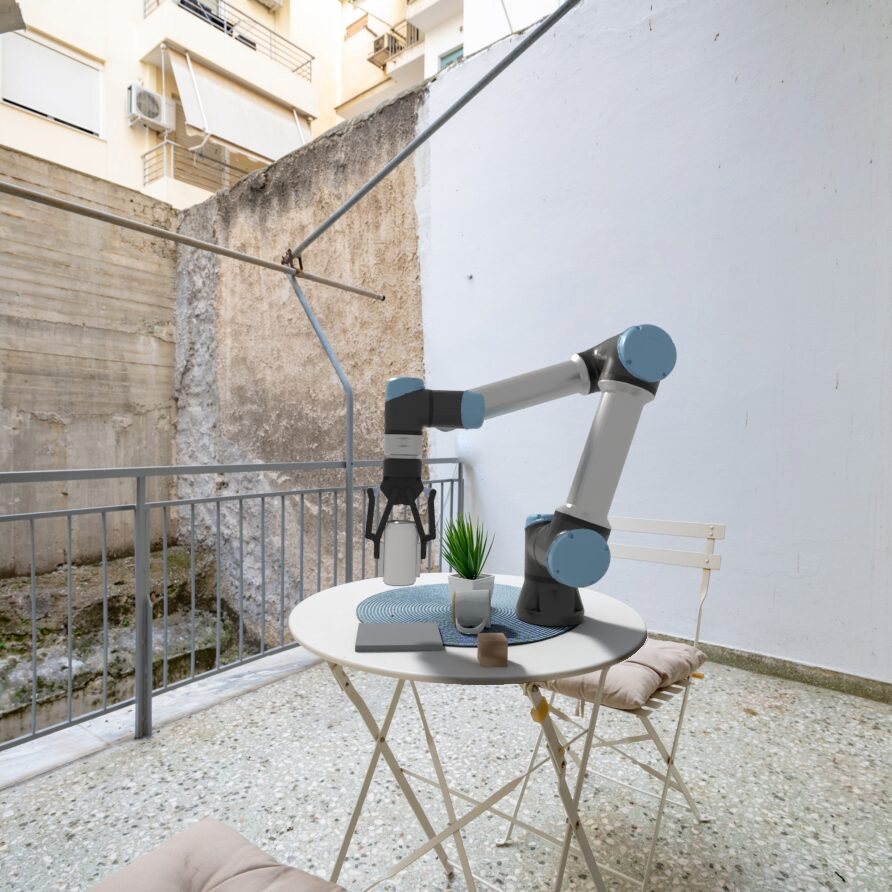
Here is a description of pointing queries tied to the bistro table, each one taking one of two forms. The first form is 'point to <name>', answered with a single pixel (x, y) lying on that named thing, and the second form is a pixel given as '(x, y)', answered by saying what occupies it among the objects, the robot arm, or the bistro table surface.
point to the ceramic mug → (471, 610)
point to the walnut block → (492, 650)
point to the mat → (398, 637)
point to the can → (400, 553)
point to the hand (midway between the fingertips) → (399, 575)
